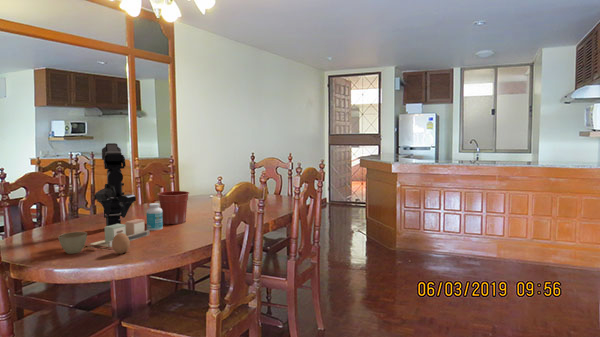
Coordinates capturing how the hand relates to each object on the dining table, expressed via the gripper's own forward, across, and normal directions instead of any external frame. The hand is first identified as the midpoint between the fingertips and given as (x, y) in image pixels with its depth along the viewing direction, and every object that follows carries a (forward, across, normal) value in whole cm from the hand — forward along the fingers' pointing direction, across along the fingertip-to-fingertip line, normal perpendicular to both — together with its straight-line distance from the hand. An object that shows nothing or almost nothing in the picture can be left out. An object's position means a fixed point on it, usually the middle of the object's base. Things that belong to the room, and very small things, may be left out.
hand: (115, 216), depth 174 cm
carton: (+10, +3, +8) cm, 13 cm away
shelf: (+11, +2, +1) cm, 11 cm away
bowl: (+11, -3, -18) cm, 22 cm away
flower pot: (+12, -4, +43) cm, 45 cm away
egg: (+11, +16, -12) cm, 23 cm away
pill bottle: (+12, +1, +23) cm, 26 cm away
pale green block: (+10, +3, -3) cm, 11 cm away
